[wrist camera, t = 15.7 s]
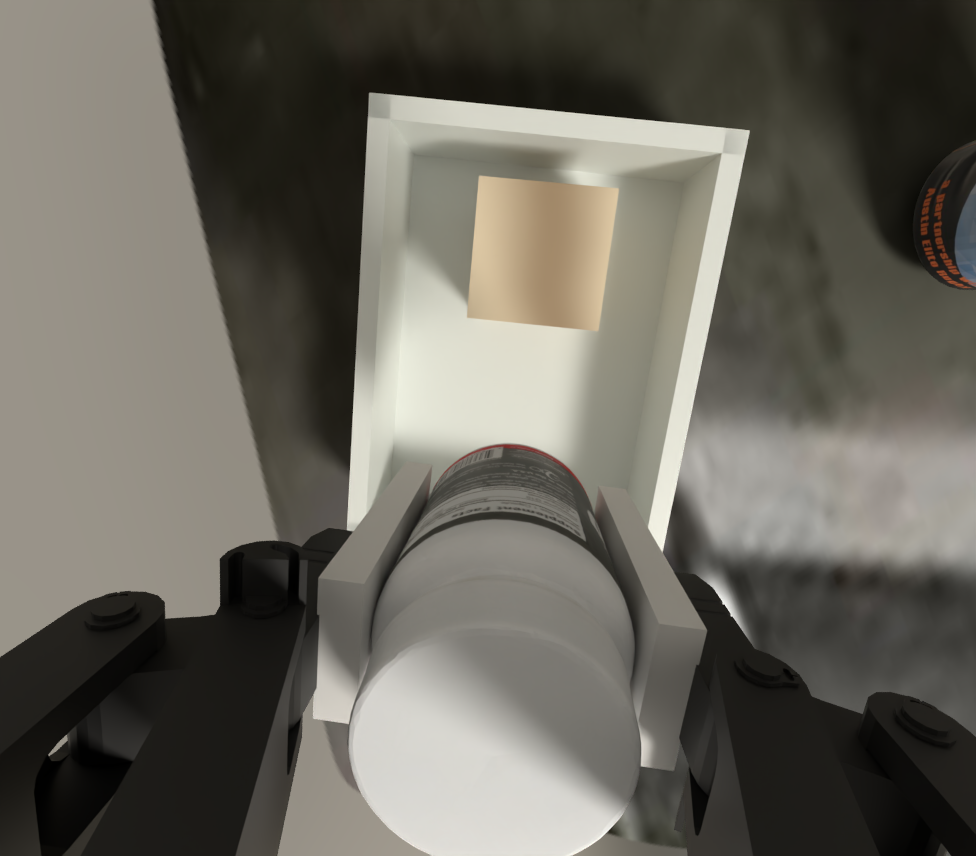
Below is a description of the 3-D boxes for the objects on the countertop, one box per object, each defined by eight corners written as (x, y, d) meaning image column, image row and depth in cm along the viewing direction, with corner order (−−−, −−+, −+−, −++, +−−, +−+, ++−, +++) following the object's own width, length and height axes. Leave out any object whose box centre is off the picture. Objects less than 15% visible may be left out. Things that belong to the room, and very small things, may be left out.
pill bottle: (574, 603, 15) (632, 928, 7) (419, 576, 16) (308, 866, 7) (607, 454, 14) (717, 640, 6) (440, 426, 15) (337, 574, 6)
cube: (477, 315, 24) (466, 317, 20) (488, 203, 23) (478, 175, 18) (583, 326, 24) (598, 331, 19) (598, 213, 23) (618, 188, 18)
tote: (400, 137, 23) (369, 92, 19) (701, 168, 23) (749, 130, 18) (377, 498, 28) (346, 539, 23) (632, 531, 27) (656, 580, 22)
